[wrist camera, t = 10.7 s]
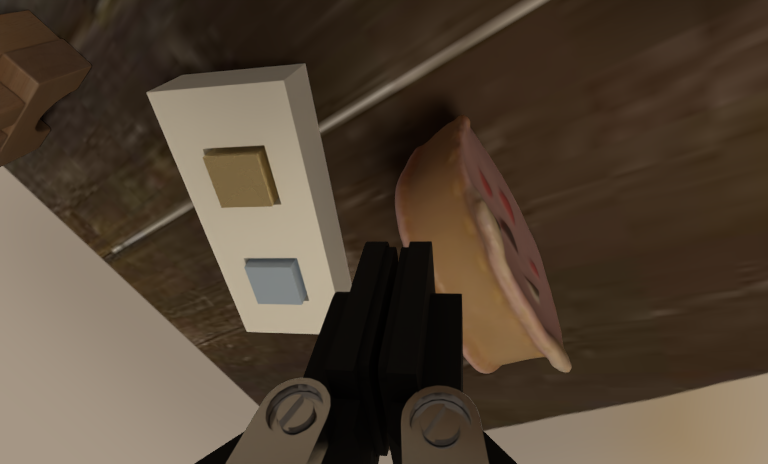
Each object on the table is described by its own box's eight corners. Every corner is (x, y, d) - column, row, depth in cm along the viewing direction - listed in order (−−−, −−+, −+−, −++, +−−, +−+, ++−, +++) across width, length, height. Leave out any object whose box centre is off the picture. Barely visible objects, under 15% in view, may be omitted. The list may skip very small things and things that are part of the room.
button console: (182, 74, 39) (146, 92, 35) (305, 63, 37) (283, 80, 33) (264, 299, 55) (246, 331, 50) (355, 301, 52) (345, 335, 48)
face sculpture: (553, 258, 45) (593, 397, 31) (491, 280, 47) (503, 416, 34) (466, 91, 36) (468, 182, 23) (397, 129, 39) (364, 231, 26)
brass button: (217, 144, 39) (202, 157, 36) (268, 141, 38) (256, 154, 35) (234, 193, 41) (221, 207, 39) (282, 191, 40) (272, 206, 38)
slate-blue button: (255, 250, 45) (244, 267, 43) (299, 250, 44) (290, 267, 42) (267, 286, 48) (258, 303, 46) (309, 287, 47) (302, 304, 45)
